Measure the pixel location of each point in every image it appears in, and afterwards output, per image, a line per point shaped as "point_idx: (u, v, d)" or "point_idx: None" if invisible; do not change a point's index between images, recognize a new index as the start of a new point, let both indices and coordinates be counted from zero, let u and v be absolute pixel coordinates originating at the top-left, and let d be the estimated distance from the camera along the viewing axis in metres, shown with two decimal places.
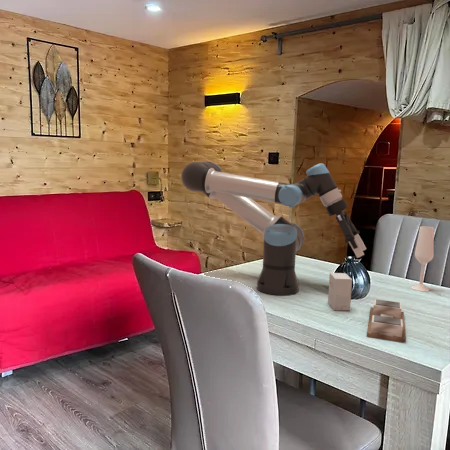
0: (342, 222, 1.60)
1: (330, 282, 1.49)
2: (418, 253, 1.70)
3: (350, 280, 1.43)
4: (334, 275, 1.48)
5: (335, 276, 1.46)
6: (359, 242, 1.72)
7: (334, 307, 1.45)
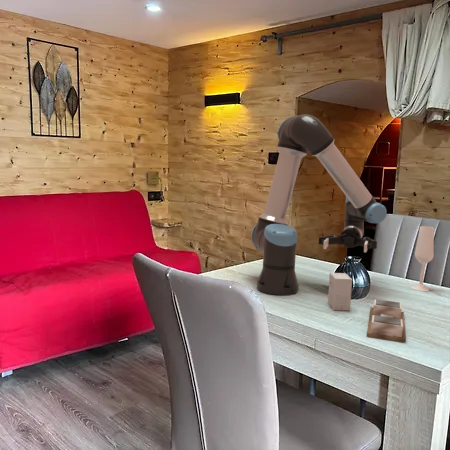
0: None
1: (330, 282, 1.49)
2: (418, 253, 1.70)
3: (350, 280, 1.43)
4: (334, 275, 1.48)
5: (335, 276, 1.46)
6: (327, 244, 1.60)
7: (334, 307, 1.45)
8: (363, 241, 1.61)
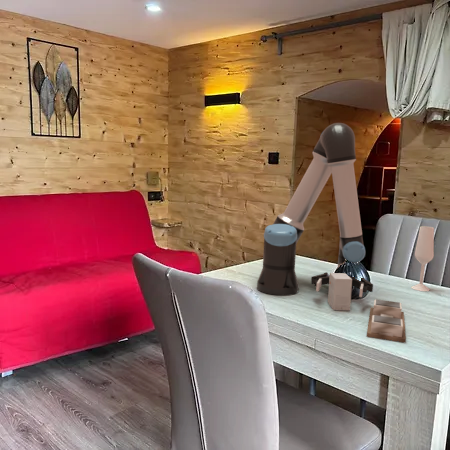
0: None
1: (330, 282, 1.49)
2: (418, 253, 1.70)
3: (350, 280, 1.43)
4: (334, 275, 1.48)
5: (335, 276, 1.46)
6: (320, 285, 1.50)
7: (334, 307, 1.45)
8: (358, 283, 1.51)
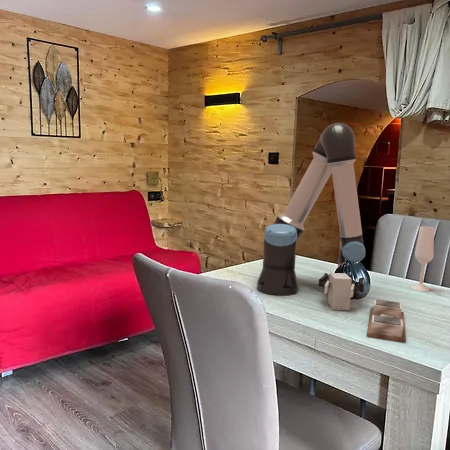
0: None
1: (330, 282, 1.49)
2: (418, 253, 1.70)
3: (350, 280, 1.43)
4: (334, 275, 1.48)
5: (335, 276, 1.46)
6: (328, 288, 1.48)
7: (334, 307, 1.45)
8: (352, 283, 1.51)
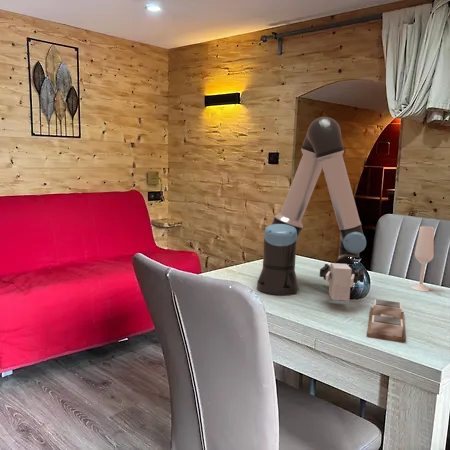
0: None
1: None
2: (418, 253, 1.70)
3: (349, 270, 1.43)
4: (334, 265, 1.47)
5: (335, 266, 1.46)
6: (329, 278, 1.47)
7: (333, 297, 1.44)
8: (352, 273, 1.50)
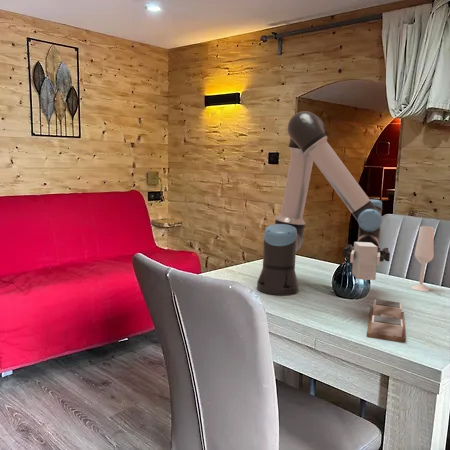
0: None
1: None
2: (418, 253, 1.70)
3: (376, 248, 1.36)
4: (359, 243, 1.41)
5: (360, 244, 1.39)
6: (353, 257, 1.40)
7: (358, 276, 1.38)
8: None
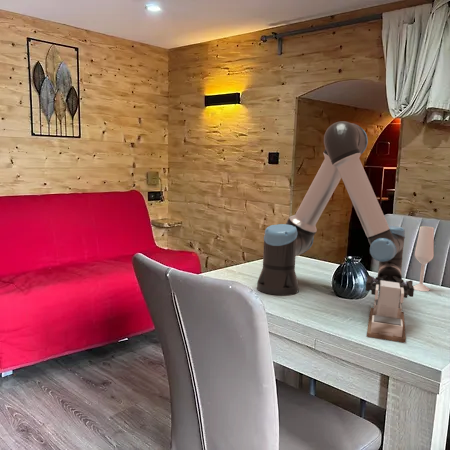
0: None
1: (379, 290, 1.35)
2: (418, 253, 1.70)
3: (398, 289, 1.28)
4: (383, 283, 1.33)
5: (383, 284, 1.32)
6: None
7: None
8: (400, 286, 1.35)
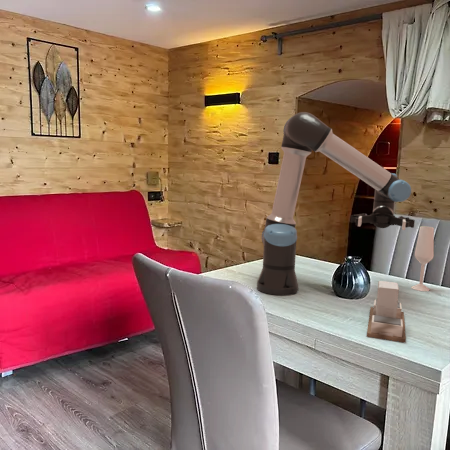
0: None
1: None
2: (418, 253, 1.70)
3: (396, 290, 1.28)
4: (381, 283, 1.33)
5: (381, 284, 1.32)
6: None
7: None
8: (399, 220, 1.51)
